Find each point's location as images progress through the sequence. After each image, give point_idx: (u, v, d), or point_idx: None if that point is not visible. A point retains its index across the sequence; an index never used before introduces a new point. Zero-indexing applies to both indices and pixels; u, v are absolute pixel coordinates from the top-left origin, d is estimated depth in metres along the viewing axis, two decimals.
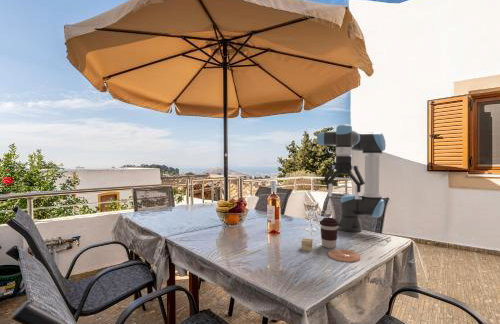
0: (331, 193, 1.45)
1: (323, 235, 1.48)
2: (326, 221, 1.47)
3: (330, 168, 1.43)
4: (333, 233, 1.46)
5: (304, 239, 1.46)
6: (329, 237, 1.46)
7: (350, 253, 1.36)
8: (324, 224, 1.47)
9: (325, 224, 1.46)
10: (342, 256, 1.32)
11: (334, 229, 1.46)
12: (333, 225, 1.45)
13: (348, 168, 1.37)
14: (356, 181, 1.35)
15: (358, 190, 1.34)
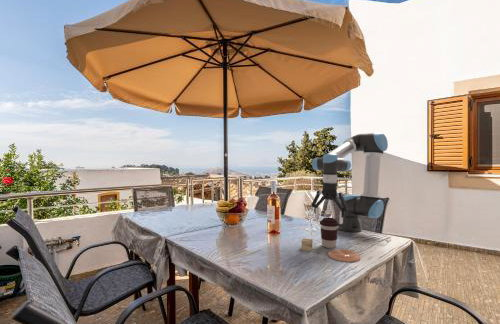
0: (318, 216, 1.54)
1: (323, 235, 1.48)
2: (326, 221, 1.47)
3: (317, 193, 1.53)
4: (333, 233, 1.46)
5: (304, 239, 1.46)
6: (329, 237, 1.46)
7: (350, 253, 1.36)
8: (324, 224, 1.47)
9: (325, 224, 1.46)
10: (342, 256, 1.32)
11: (334, 229, 1.46)
12: (333, 225, 1.45)
13: (333, 194, 1.47)
14: (340, 207, 1.45)
15: (342, 215, 1.44)
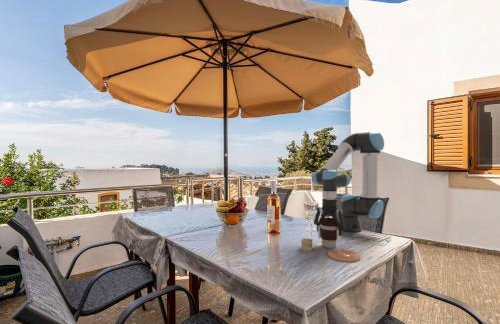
0: None
1: (323, 235, 1.48)
2: (326, 221, 1.47)
3: (317, 210, 1.53)
4: (333, 233, 1.46)
5: (304, 239, 1.46)
6: (329, 237, 1.46)
7: (350, 253, 1.36)
8: (324, 224, 1.47)
9: (325, 224, 1.46)
10: (342, 256, 1.32)
11: (334, 229, 1.46)
12: (333, 225, 1.45)
13: (333, 211, 1.47)
14: (338, 225, 1.46)
15: (339, 233, 1.46)
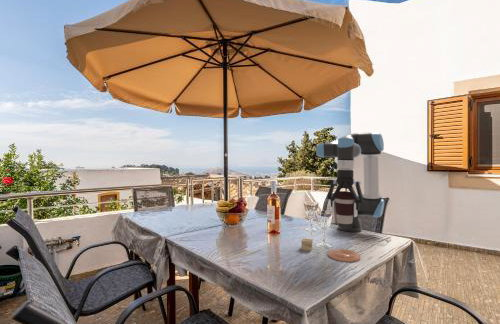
0: (335, 210, 1.38)
1: (338, 210, 1.32)
2: (342, 194, 1.32)
3: (332, 183, 1.37)
4: (350, 207, 1.30)
5: (304, 239, 1.46)
6: (345, 212, 1.31)
7: (350, 253, 1.36)
8: (340, 197, 1.31)
9: (341, 197, 1.31)
10: (342, 256, 1.32)
11: (351, 203, 1.31)
12: (350, 198, 1.30)
13: (350, 182, 1.32)
14: (355, 198, 1.30)
15: (357, 208, 1.30)
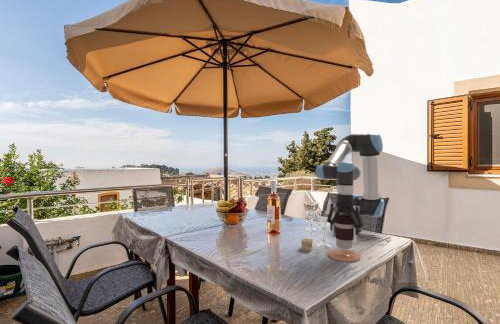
0: None
1: (338, 234, 1.33)
2: (341, 219, 1.32)
3: (331, 207, 1.38)
4: (349, 232, 1.31)
5: (304, 239, 1.46)
6: (345, 236, 1.31)
7: (350, 253, 1.36)
8: (339, 222, 1.31)
9: (340, 222, 1.31)
10: (342, 256, 1.32)
11: (350, 228, 1.31)
12: (349, 223, 1.30)
13: (349, 207, 1.32)
14: (355, 223, 1.30)
15: (357, 233, 1.30)
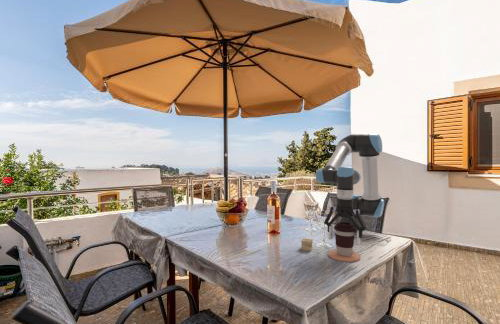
0: (332, 235, 1.39)
1: (338, 242, 1.33)
2: (342, 226, 1.32)
3: (331, 210, 1.38)
4: (350, 240, 1.31)
5: (304, 239, 1.46)
6: (345, 244, 1.31)
7: None
8: (340, 229, 1.31)
9: (341, 229, 1.31)
10: (342, 256, 1.32)
11: (351, 235, 1.31)
12: (350, 231, 1.30)
13: (349, 212, 1.32)
14: (358, 226, 1.29)
15: (360, 236, 1.29)
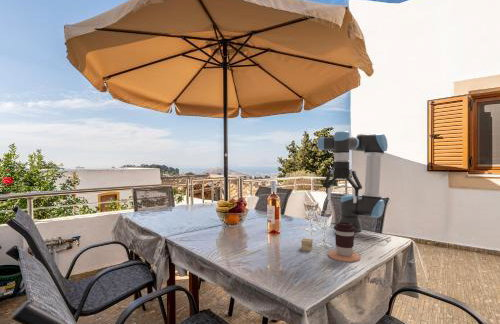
0: (330, 197, 1.50)
1: (338, 242, 1.33)
2: (342, 226, 1.32)
3: (329, 173, 1.48)
4: (350, 240, 1.31)
5: (304, 239, 1.46)
6: (345, 244, 1.31)
7: None
8: (339, 229, 1.31)
9: (341, 229, 1.31)
10: (342, 256, 1.32)
11: (351, 235, 1.31)
12: (350, 231, 1.30)
13: (346, 173, 1.42)
14: (354, 185, 1.40)
15: (356, 194, 1.40)
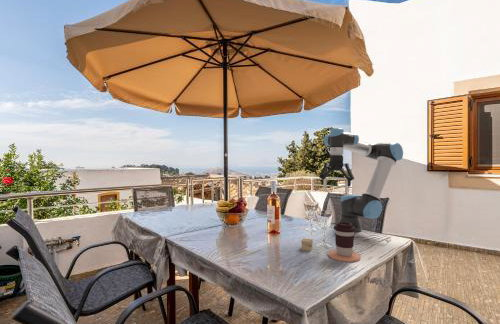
0: (326, 187, 1.67)
1: (338, 242, 1.33)
2: (341, 226, 1.32)
3: (325, 165, 1.65)
4: (349, 240, 1.31)
5: (304, 239, 1.46)
6: (345, 244, 1.31)
7: None
8: (339, 230, 1.31)
9: (340, 230, 1.31)
10: (342, 256, 1.32)
11: (351, 235, 1.31)
12: (350, 231, 1.30)
13: (340, 165, 1.59)
14: (347, 176, 1.57)
15: (348, 184, 1.56)
